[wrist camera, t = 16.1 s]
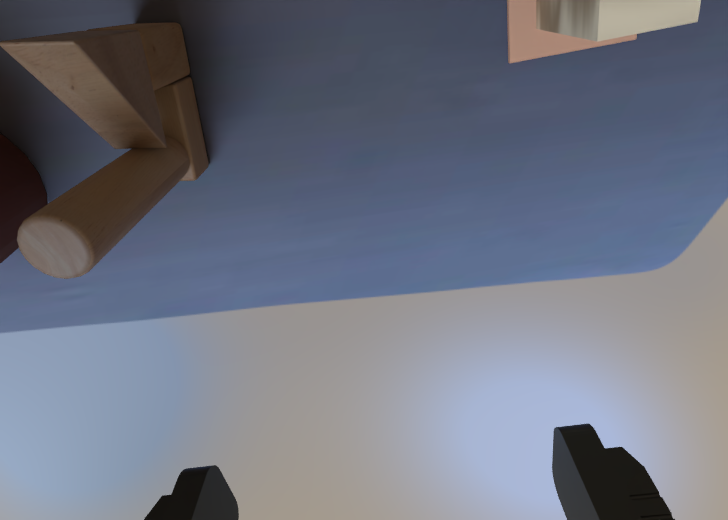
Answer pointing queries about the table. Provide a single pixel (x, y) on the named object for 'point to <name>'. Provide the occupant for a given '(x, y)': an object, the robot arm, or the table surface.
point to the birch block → (613, 16)
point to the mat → (541, 35)
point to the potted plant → (16, 194)
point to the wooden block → (113, 135)
